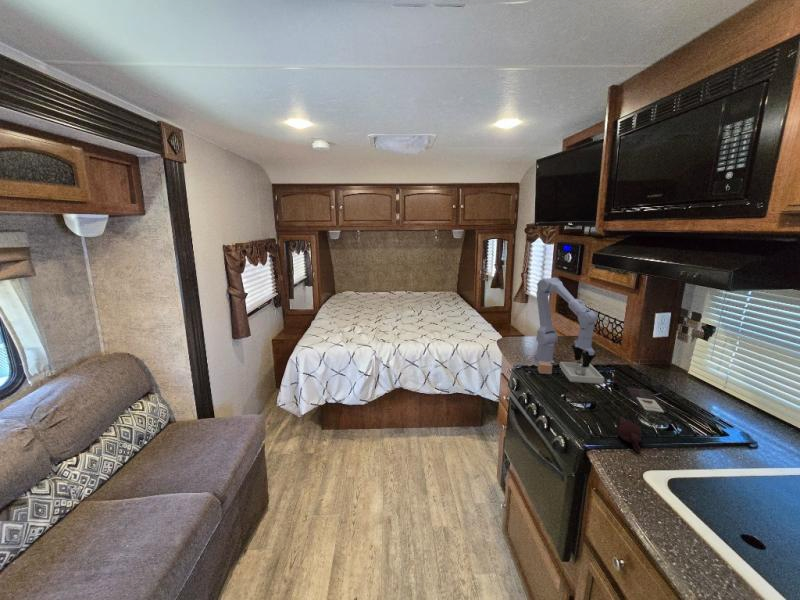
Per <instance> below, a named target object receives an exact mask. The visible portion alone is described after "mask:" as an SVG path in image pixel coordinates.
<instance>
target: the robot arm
mask: <svg viewBox="0 0 800 600" xmlns="http://www.w3.org/2000/svg"><path fill="white" fill-rule="evenodd" d="M536 286H537V290H536V302H537V311H538V316H539V317H538V318H539V319H538V320H539V328H538V330H536V337H535V338H536V339H535V340H536V342H537V343H538V344H537V347H536V354H534V357H535V359H536V360H537V363H538V362H550V363H551V364H555V361H554V359H553V357H554V348H555V347H554V346H555V344H556V342H557V341H558V339H559V337H558V334H557V331H556V328H555V327H553V326H552V319H551V318H552V317H551V308H550V300H549V296H550V295H551V294H553V293H556V294H557V295H559V296H560V297H561V298H562V300H564V301H566V303H567V304H568V308H569V310H570V311H571V312H573V313H574V315H576V317H577V322H578V324H579V327H578V328H579V329H578V336H577V339H574V341H573V344H572V345H571V348H572V350H573V355H574V360H575V361H581V359H582V362H583V367H589V365H590V364H591V363H592V361H593V359H594V358H596V355H597V354H596V353H595V352H596V351H595V350H594V349H593V347H592V342H593V335H594V328H595V323H596V322H597V321H598V319H599V316H598V313H596V311H595V310H591V309H590V308H589V307H587V305H585V303H584V302H583V301H582V299H579V298H575V297H574V296H573V295H572V293H570V292H569V290H568V289H567V288H566V287H565V286H564V284H563V281H561V280H560V278H558V277H548V278H541V279H540V280H539V281H538V282H537V283H536Z"/></svg>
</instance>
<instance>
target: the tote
mask: <svg viewBox="0 0 800 600" xmlns="http://www.w3.org/2000/svg"><path fill="white" fill-rule="evenodd" d="M576 362H577V361H575V362H571V361H560V362H559V366H560V367H559V368H561V369H560V370H561V371H562V373H563V374H564V375H565V377H566V378H567V379H568V381H569V382H570V383H583V384H596V385H597V384H598V385H604V382H605V377H604V376H603V375H602V374H601V372H599V371H598V370H597V369H596V368H595V367H594V366H593V365H592V364H591V363H590V365H589V367H586V375H585V376H579V375H577V374H575V369H576Z"/></svg>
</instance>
